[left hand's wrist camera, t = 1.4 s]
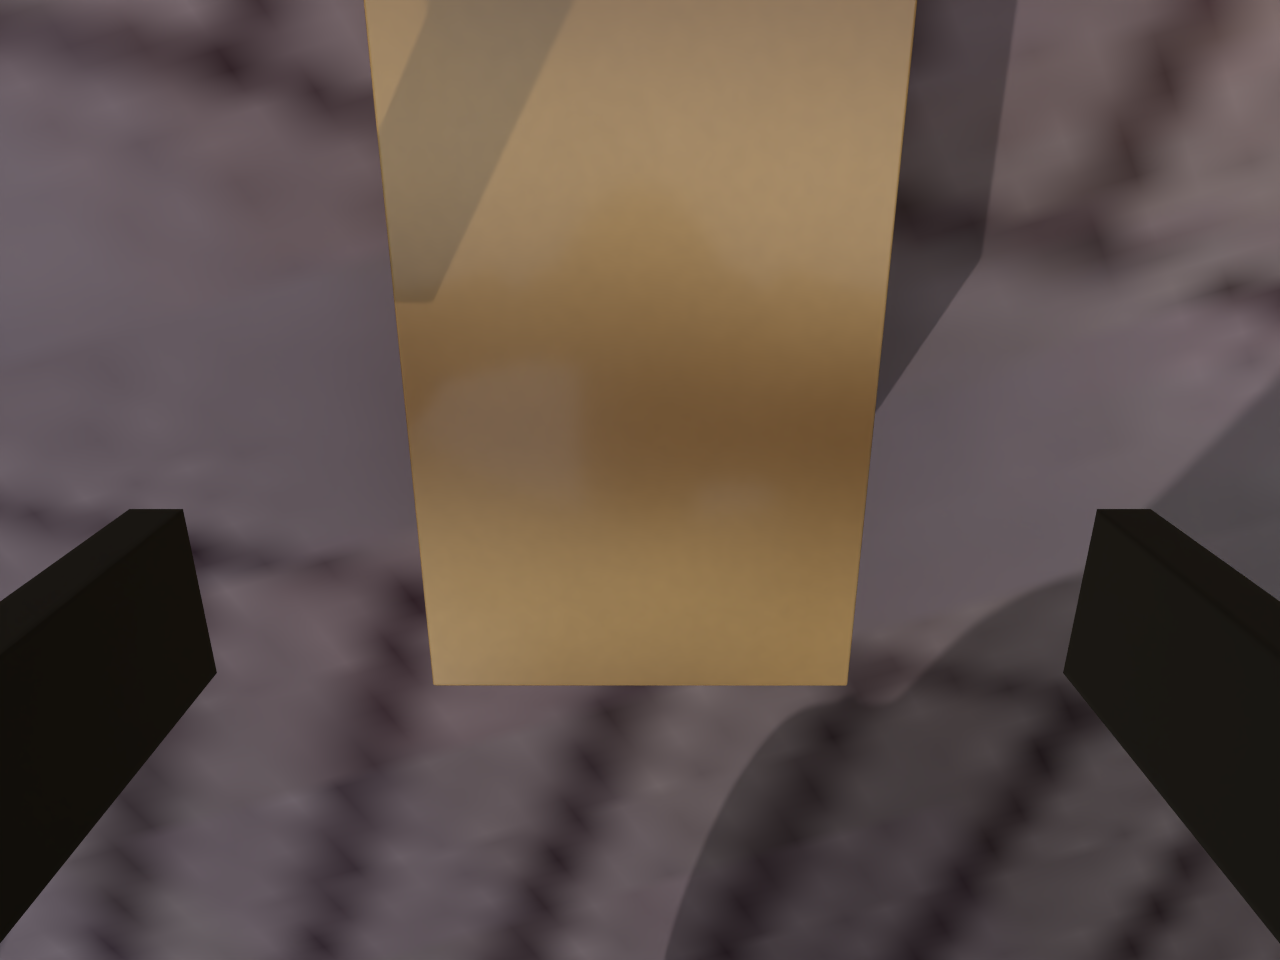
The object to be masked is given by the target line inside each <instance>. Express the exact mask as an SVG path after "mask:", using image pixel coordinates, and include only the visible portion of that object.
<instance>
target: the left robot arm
mask: <svg viewBox="0 0 1280 960" xmlns="http://www.w3.org/2000/svg"><path fill="white" fill-rule="evenodd" d="M216 673H217V672H216V667H215V662H214V657H213V652H212V648H211V643H210V638H209V633H208V628H207V623H206V619H205V614H204V609H203V604H202V599H201V594H200V590H199V585H198V580H197V575H196V570H195V565H194V561H193V556H192V551H191V546H190V541H189V536H188V532H187V527H186V522H185V517H184V512H183V509H129V510H128V511H126V512H125V513H123V514H122V515H121V516H119V517H118V518H116V519H115V520H114V521H112V522H111V523H109V524H108V525H107V526H105V527H104V528H102V529H101V530H100V531H98V532H97V533H95V534H94V535H93V536H91V537H90V538H88V539H87V540H86V541H84V542H83V543H81V544H80V545H79V546H77V547H76V548H74V549H73V550H72V551H70V552H69V553H67V554H66V555H65V556H63V557H62V558H60V559H59V560H58V561H56V562H55V563H53V564H52V565H51V566H49V567H48V568H46V569H45V570H44V571H42V572H41V573H39V574H38V575H37V576H35V577H34V578H32V579H31V580H30V581H28V582H27V583H25V584H24V585H23V586H21V587H20V588H18V589H17V590H16V591H14V592H13V593H11V594H10V595H9V596H7V597H6V598H4V599H3V600H2V601H0V943H1V942H2V940H3V939H4V938H5V937H6V935H7V934H8V933H9V932H10V930H11V929H12V928H13V927H14V925H15V924H16V923H17V922H18V920H19V919H20V918H21V917H22V915H23V914H24V913H25V912H26V910H27V909H28V908H29V907H30V905H31V904H32V903H33V902H34V900H35V899H36V898H37V897H38V895H39V894H40V893H41V892H42V890H43V889H44V888H45V887H46V885H47V884H48V883H49V882H50V880H51V879H52V878H53V877H54V875H55V874H56V873H57V872H58V870H59V869H60V868H61V867H62V865H63V864H64V863H65V862H66V860H67V859H68V858H69V857H70V855H71V854H72V853H73V852H74V850H75V849H76V848H77V847H78V845H79V844H80V843H81V842H82V840H83V839H84V838H85V837H86V835H87V834H88V833H89V832H90V830H91V829H92V828H93V827H94V825H95V824H96V823H97V822H98V820H99V819H100V818H101V817H102V815H103V814H104V813H105V812H106V810H107V809H108V808H109V807H110V805H111V804H112V803H113V802H114V800H115V799H116V798H117V797H118V795H119V794H120V793H121V792H122V791H123V789H124V788H125V787H126V786H127V784H128V783H129V782H130V781H131V779H132V778H133V777H134V776H135V774H136V773H137V772H138V771H139V769H140V768H141V767H142V766H143V764H144V763H145V762H146V761H147V759H148V758H149V757H150V756H151V754H152V753H153V752H154V751H155V749H156V748H157V747H158V746H159V744H160V743H161V742H162V741H163V739H164V738H165V737H166V736H167V734H168V733H169V732H170V731H171V729H172V728H173V727H174V726H175V724H176V723H177V722H178V721H179V719H180V718H181V717H182V716H183V714H184V713H185V712H186V711H187V709H188V708H189V707H190V706H191V704H192V703H193V702H194V701H195V699H196V698H197V697H198V696H199V694H200V693H201V692H202V691H203V689H204V688H205V687H206V686H207V684H208V683H209V682H210V681H211V679H212V678H213V677H214V676H215V674H216ZM1063 673H1064V674H1065V676H1066V677H1067V678H1068V679H1069V681H1070V682H1071V683H1072V684H1073V686H1074V687H1075V688H1076V689H1077V691H1078V692H1079V693H1080V694H1081V696H1082V697H1083V698H1084V699H1085V701H1086V702H1087V703H1088V704H1089V706H1090V707H1091V708H1092V709H1093V711H1094V712H1095V713H1096V714H1097V716H1098V717H1099V718H1100V719H1101V721H1102V722H1103V723H1104V724H1105V726H1106V727H1107V728H1108V729H1109V731H1110V732H1111V733H1112V734H1113V736H1114V737H1115V738H1116V739H1117V741H1118V742H1119V743H1120V744H1121V746H1122V747H1123V748H1124V749H1125V751H1126V752H1127V753H1128V754H1129V756H1130V757H1131V758H1132V759H1133V761H1134V762H1135V763H1136V764H1137V766H1138V767H1139V768H1140V769H1141V771H1142V772H1143V773H1144V774H1145V776H1146V777H1147V778H1148V779H1149V781H1150V782H1151V783H1152V784H1153V786H1154V787H1155V788H1156V789H1157V791H1158V792H1159V793H1160V794H1161V796H1162V797H1163V798H1164V799H1165V800H1166V802H1167V803H1168V804H1169V805H1170V807H1171V808H1172V809H1173V810H1174V812H1175V813H1176V814H1177V815H1178V817H1179V818H1180V819H1181V820H1182V822H1183V823H1184V824H1185V825H1186V827H1187V828H1188V829H1189V830H1190V832H1191V833H1192V834H1193V835H1194V837H1195V838H1196V839H1197V840H1198V842H1199V843H1200V844H1201V845H1202V847H1203V848H1204V849H1205V850H1206V852H1207V853H1208V854H1209V855H1210V857H1211V858H1212V859H1213V860H1214V862H1215V863H1216V864H1217V865H1218V867H1219V868H1220V869H1221V870H1222V872H1223V873H1224V874H1225V875H1226V877H1227V878H1228V879H1229V880H1230V882H1231V883H1232V884H1233V885H1234V887H1235V888H1236V889H1237V890H1238V892H1239V893H1240V894H1241V895H1242V897H1243V898H1244V899H1245V900H1246V902H1247V903H1248V904H1249V905H1250V907H1251V908H1252V909H1253V910H1254V912H1255V913H1256V914H1257V915H1258V917H1259V918H1260V919H1261V920H1262V922H1263V923H1264V924H1265V925H1266V927H1267V928H1268V929H1269V930H1270V932H1271V933H1272V934H1273V935H1274V937H1275V938H1276V939H1277V940H1278V942H1279V943H1280V601H1278V600H1277V599H1276V598H1274V597H1273V596H1271V595H1270V594H1269V593H1267V592H1266V591H1264V590H1263V589H1262V588H1260V587H1259V586H1257V585H1256V584H1255V583H1253V582H1252V581H1250V580H1249V579H1248V578H1246V577H1245V576H1243V575H1242V574H1241V573H1239V572H1238V571H1236V570H1235V569H1234V568H1232V567H1231V566H1229V565H1228V564H1226V563H1225V562H1224V561H1222V560H1221V559H1220V558H1218V557H1217V556H1215V555H1214V554H1213V553H1211V552H1210V551H1208V550H1207V549H1206V548H1204V547H1203V546H1201V545H1200V544H1198V543H1197V542H1196V541H1194V540H1193V539H1191V538H1190V537H1189V536H1187V535H1186V534H1184V533H1183V532H1182V531H1180V530H1179V529H1177V528H1176V527H1175V526H1173V525H1172V524H1170V523H1169V522H1168V521H1166V520H1165V519H1163V518H1162V517H1161V516H1159V515H1158V514H1156V513H1155V512H1154V511H1152V510H1151V509H1097V512H1096V517H1095V522H1094V527H1093V532H1092V536H1091V541H1090V546H1089V551H1088V556H1087V561H1086V565H1085V570H1084V575H1083V580H1082V585H1081V590H1080V594H1079V599H1078V604H1077V609H1076V614H1075V619H1074V623H1073V628H1072V633H1071V638H1070V643H1069V648H1068V652H1067V657H1066V662H1065V667H1064V672H1063Z"/></svg>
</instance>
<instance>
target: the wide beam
mask: <svg viewBox="0 0 1280 960" xmlns="http://www.w3.org/2000/svg"><path fill="white" fill-rule="evenodd" d="M916 8H917V0H364V9H365V18H366V28H367V38H368V48H369V58H370V68H371V77H372V87H373V97H374V107H375V117H376V126H377V136H378V146H379V156H380V166H381V176H382V185H383V195H384V205H385V215H386V225H387V234H388V244H389V254H390V264H391V274H392V284H393V293H394V303H395V313H396V323H397V333H398V342H399V352H400V362H401V372H402V382H403V391H404V401H405V411H406V421H407V431H408V441H409V450H410V460H411V470H412V480H413V490H414V499H415V509H416V519H417V529H418V539H419V549H420V558H421V568H422V578H423V588H424V598H425V607H426V617H427V627H428V637H429V647H430V657H431V666H432V676H433V684H434V685H847V681H848V671H849V661H850V652H851V642H852V632H853V622H854V613H855V603H856V593H857V583H858V574H859V564H860V554H861V544H862V535H863V525H864V515H865V505H866V496H867V486H868V476H869V466H870V457H871V447H872V437H873V427H874V418H875V408H876V398H877V388H878V379H879V369H880V359H881V349H882V340H883V330H884V320H885V310H886V301H887V291H888V281H889V271H890V262H891V252H892V242H893V232H894V222H895V213H896V203H897V193H898V183H899V174H900V164H901V154H902V144H903V135H904V125H905V115H906V105H907V96H908V86H909V76H910V66H911V57H912V47H913V37H914V27H915V18H916Z"/></svg>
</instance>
